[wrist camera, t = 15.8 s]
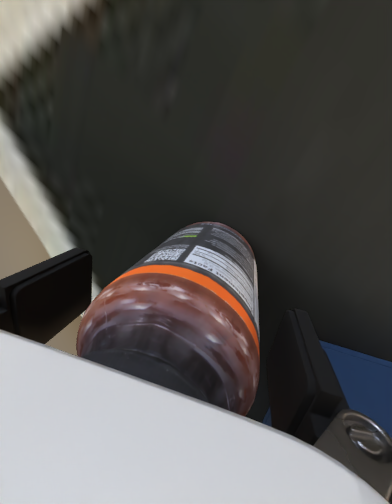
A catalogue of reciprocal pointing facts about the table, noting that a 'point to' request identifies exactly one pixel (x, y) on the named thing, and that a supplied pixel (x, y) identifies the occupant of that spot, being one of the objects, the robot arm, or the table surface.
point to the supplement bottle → (183, 318)
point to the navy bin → (361, 384)
